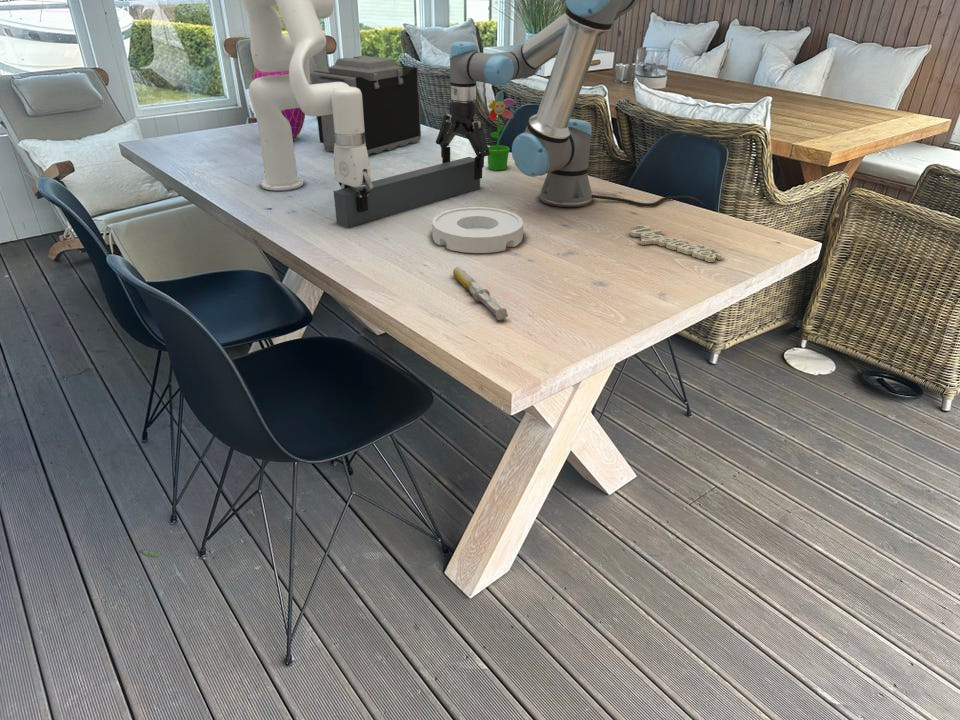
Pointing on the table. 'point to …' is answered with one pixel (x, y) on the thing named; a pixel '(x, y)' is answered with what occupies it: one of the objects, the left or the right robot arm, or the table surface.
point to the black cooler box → (377, 101)
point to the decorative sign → (674, 243)
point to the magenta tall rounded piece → (291, 115)
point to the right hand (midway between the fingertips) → (461, 173)
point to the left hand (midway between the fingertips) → (356, 208)
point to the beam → (406, 191)
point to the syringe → (479, 293)
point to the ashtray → (477, 229)
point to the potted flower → (497, 152)
